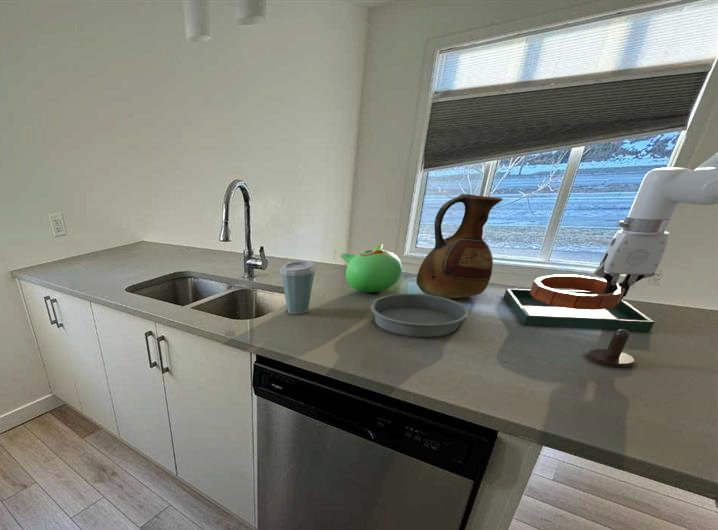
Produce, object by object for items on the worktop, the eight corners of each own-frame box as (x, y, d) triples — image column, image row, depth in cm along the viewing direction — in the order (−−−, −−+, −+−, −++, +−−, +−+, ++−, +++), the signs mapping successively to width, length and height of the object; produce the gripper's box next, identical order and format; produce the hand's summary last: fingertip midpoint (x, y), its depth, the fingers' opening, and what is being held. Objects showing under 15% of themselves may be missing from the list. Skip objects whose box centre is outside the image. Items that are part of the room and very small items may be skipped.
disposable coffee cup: (298, 319, 124) (300, 270, 116) (272, 311, 131) (272, 265, 124) (320, 309, 129) (323, 262, 122) (294, 302, 137) (295, 257, 129)
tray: (608, 300, 117) (612, 291, 115) (649, 332, 98) (654, 322, 97) (503, 296, 126) (506, 288, 124) (523, 325, 107) (526, 316, 106)
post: (623, 354, 90) (638, 324, 87) (639, 369, 84) (655, 337, 81) (583, 351, 93) (595, 322, 89) (595, 365, 87) (609, 335, 83)
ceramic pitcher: (496, 304, 121) (527, 195, 106) (424, 305, 125) (444, 200, 110) (470, 284, 138) (494, 188, 123) (407, 286, 141) (423, 193, 126)
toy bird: (359, 301, 133) (364, 256, 125) (334, 287, 147) (338, 246, 140) (408, 293, 135) (416, 248, 128) (379, 280, 150) (385, 239, 142)
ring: (601, 288, 114) (606, 275, 112) (631, 311, 100) (638, 297, 98) (523, 285, 120) (527, 273, 119) (541, 307, 106) (546, 294, 104)
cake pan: (419, 348, 101) (422, 331, 98) (350, 319, 120) (352, 304, 118) (486, 326, 109) (490, 310, 106) (411, 301, 128) (414, 288, 126)
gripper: (610, 229, 97) (581, 302, 107) (697, 228, 92) (658, 305, 101) (598, 223, 103) (571, 293, 113) (679, 222, 98) (643, 295, 107)
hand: (612, 298), depth 107 cm, fingers closed on ring, 1 cm apart
